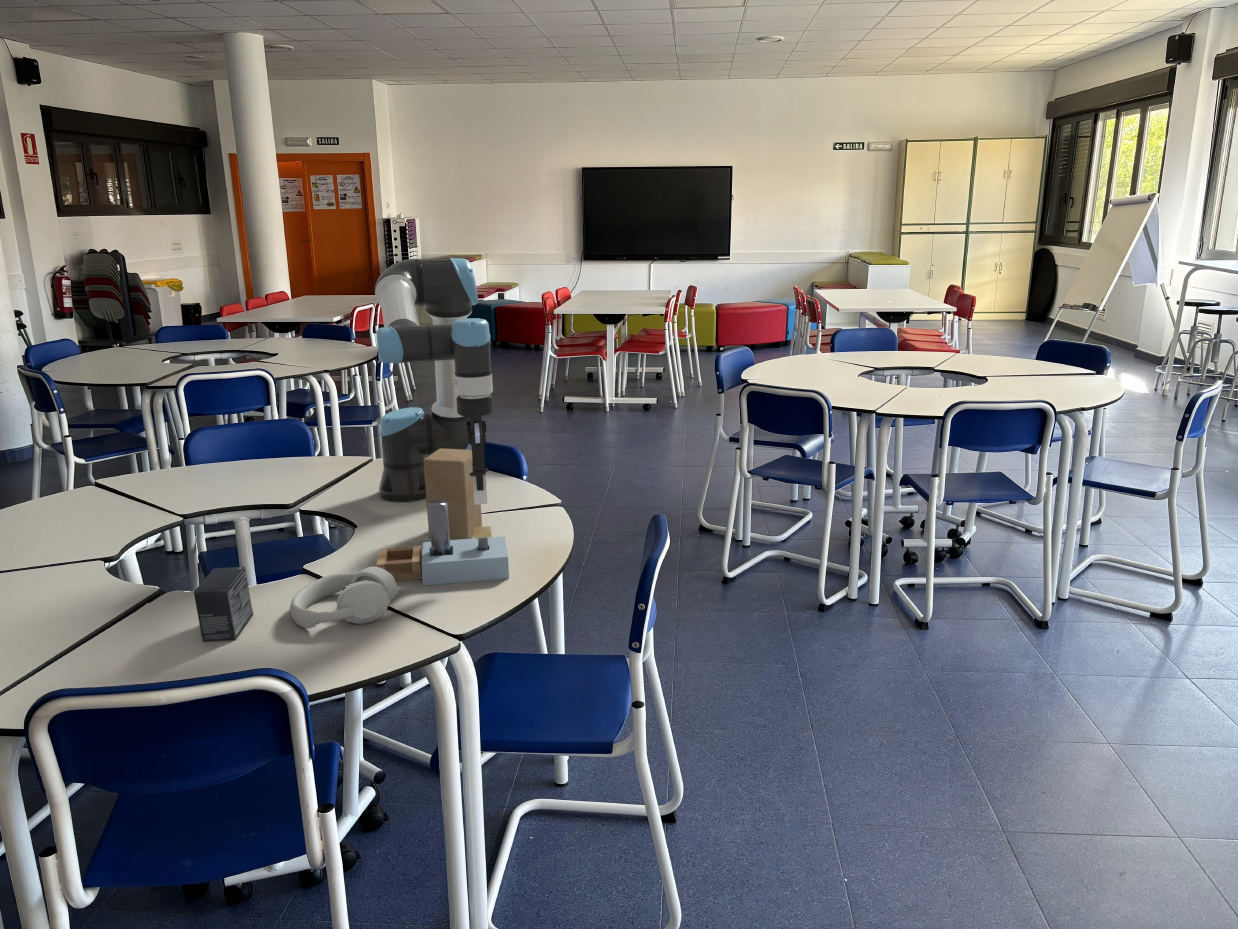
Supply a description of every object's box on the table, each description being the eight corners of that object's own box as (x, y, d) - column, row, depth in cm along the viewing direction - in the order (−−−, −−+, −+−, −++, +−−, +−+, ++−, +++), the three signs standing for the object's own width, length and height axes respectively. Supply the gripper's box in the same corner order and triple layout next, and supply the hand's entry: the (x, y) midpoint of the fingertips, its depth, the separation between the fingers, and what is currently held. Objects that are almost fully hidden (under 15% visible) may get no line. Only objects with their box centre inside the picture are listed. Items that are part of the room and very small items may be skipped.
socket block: (424, 563, 193) (423, 542, 192) (505, 556, 197) (504, 536, 195) (423, 585, 182) (421, 563, 181) (509, 578, 185) (508, 556, 184)
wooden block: (468, 542, 205) (463, 461, 199) (428, 539, 207) (422, 459, 201) (482, 527, 214) (478, 449, 208) (444, 524, 216) (439, 447, 210)
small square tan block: (475, 551, 190) (473, 527, 189) (491, 550, 191) (490, 526, 189) (475, 558, 187) (474, 533, 185) (492, 556, 188) (491, 532, 186)
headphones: (409, 589, 179) (316, 600, 181) (401, 554, 177) (307, 566, 179) (383, 631, 162) (281, 643, 163) (374, 593, 160) (270, 606, 161)
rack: (381, 565, 192) (379, 548, 191) (422, 562, 194) (421, 545, 193) (378, 582, 184) (376, 565, 183) (421, 578, 185) (419, 561, 184)
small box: (220, 616, 169) (212, 567, 166) (254, 614, 170) (247, 565, 167) (199, 642, 159) (191, 590, 156) (236, 641, 160) (228, 589, 157)
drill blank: (433, 569, 190) (428, 500, 185) (452, 568, 191) (447, 499, 186) (433, 577, 186) (427, 507, 182) (452, 575, 187) (447, 505, 182)
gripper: (455, 389, 184) (462, 494, 191) (456, 402, 172) (463, 514, 178) (491, 387, 185) (497, 492, 192) (494, 400, 173) (500, 511, 180)
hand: (480, 503), depth 185 cm, fingers closed
